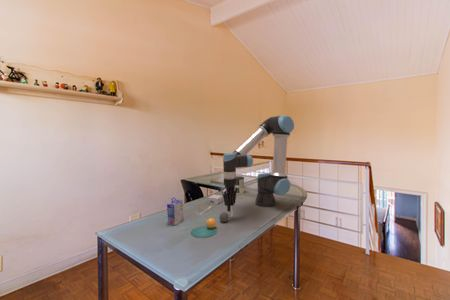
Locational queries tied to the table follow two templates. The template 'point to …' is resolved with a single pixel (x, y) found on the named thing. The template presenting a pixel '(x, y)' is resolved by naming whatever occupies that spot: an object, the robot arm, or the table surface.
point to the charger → (215, 199)
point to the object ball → (211, 223)
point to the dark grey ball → (224, 217)
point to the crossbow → (205, 211)
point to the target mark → (203, 232)
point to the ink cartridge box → (175, 211)
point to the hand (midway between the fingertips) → (230, 215)
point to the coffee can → (239, 184)
